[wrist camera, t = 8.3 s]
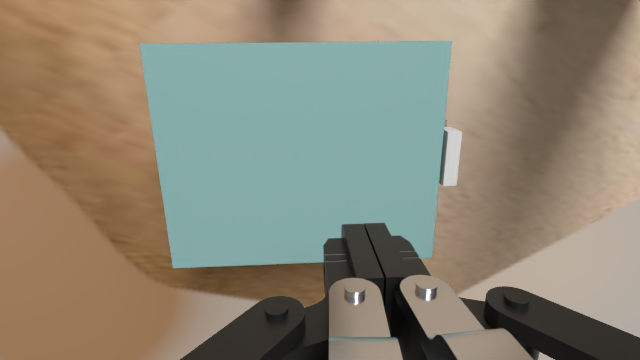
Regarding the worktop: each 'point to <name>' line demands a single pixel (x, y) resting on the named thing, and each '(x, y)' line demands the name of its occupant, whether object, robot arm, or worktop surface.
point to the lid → (297, 145)
